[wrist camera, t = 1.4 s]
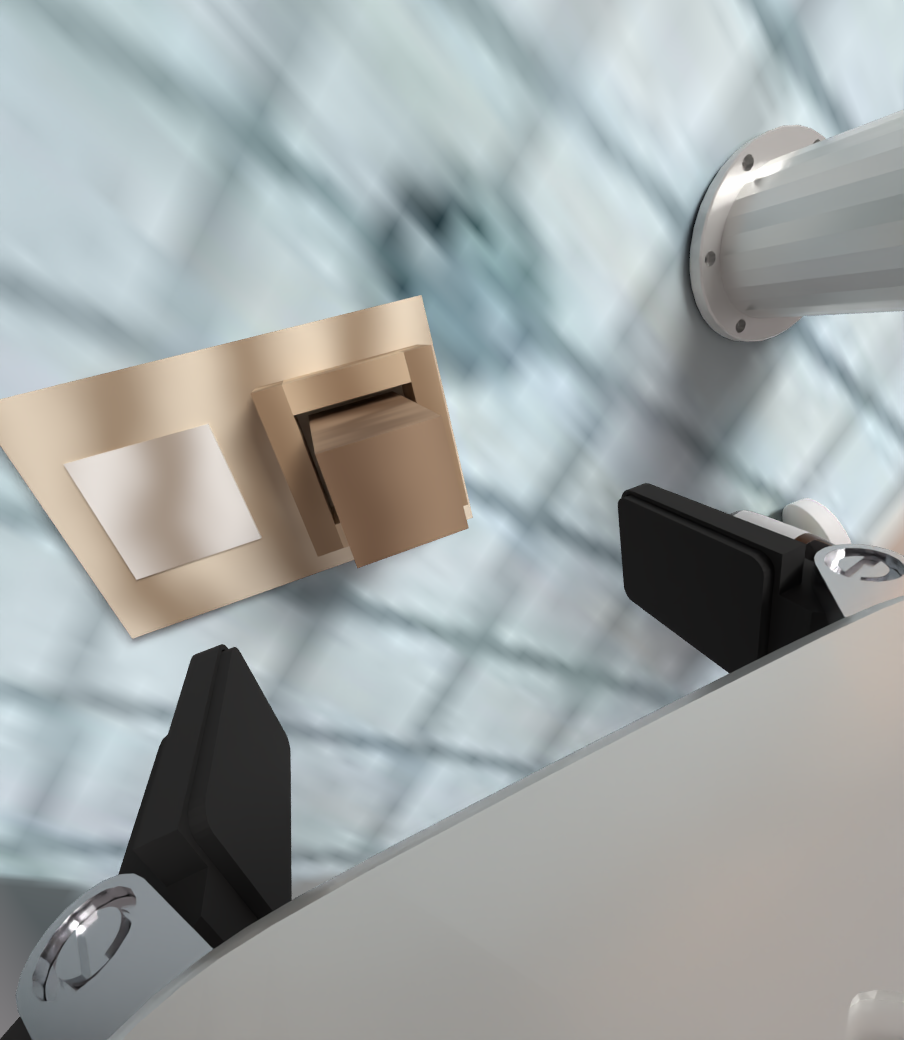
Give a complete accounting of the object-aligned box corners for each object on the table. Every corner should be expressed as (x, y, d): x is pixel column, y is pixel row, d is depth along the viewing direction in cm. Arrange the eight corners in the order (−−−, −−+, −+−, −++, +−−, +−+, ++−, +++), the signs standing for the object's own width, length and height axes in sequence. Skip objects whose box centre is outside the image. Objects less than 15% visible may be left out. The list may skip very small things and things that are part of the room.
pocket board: (417, 296, 26) (436, 289, 22) (467, 512, 32) (489, 534, 28) (-14, 403, 22) (-74, 415, 18) (137, 629, 28) (114, 671, 24)
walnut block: (392, 391, 26) (441, 416, 17) (414, 470, 28) (468, 528, 20) (308, 415, 25) (314, 454, 17) (337, 495, 27) (357, 568, 19)
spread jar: (668, 561, 40) (798, 638, 30) (751, 454, 38) (918, 496, 28) (734, 611, 45) (864, 691, 35) (809, 519, 44) (968, 573, 33)
